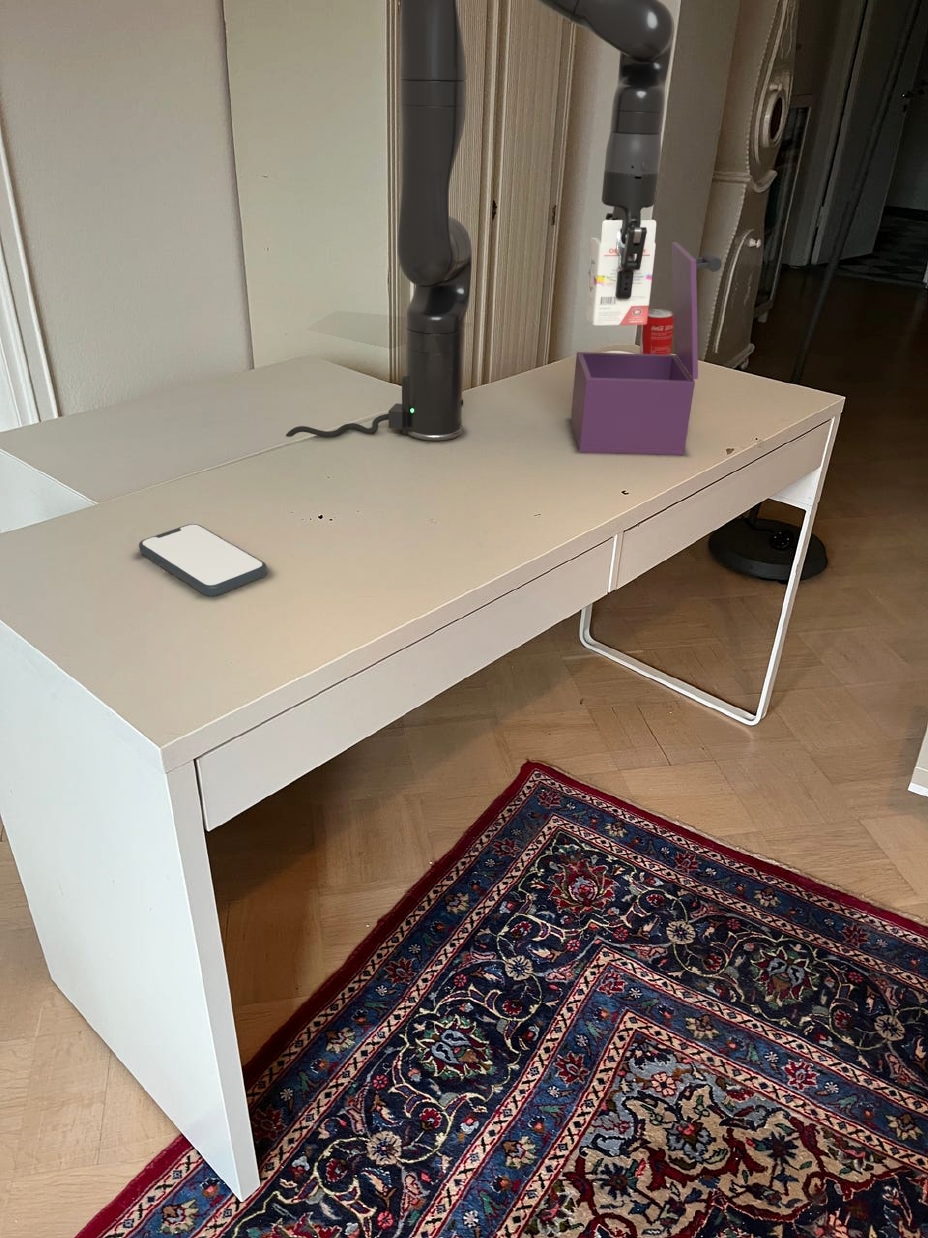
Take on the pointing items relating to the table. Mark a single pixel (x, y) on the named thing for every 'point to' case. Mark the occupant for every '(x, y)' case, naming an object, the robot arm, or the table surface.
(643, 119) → the robot arm
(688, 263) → the lid
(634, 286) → the ink cartridge box
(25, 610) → the table surface
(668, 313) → the beverage can
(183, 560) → the smartphone
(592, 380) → the box
